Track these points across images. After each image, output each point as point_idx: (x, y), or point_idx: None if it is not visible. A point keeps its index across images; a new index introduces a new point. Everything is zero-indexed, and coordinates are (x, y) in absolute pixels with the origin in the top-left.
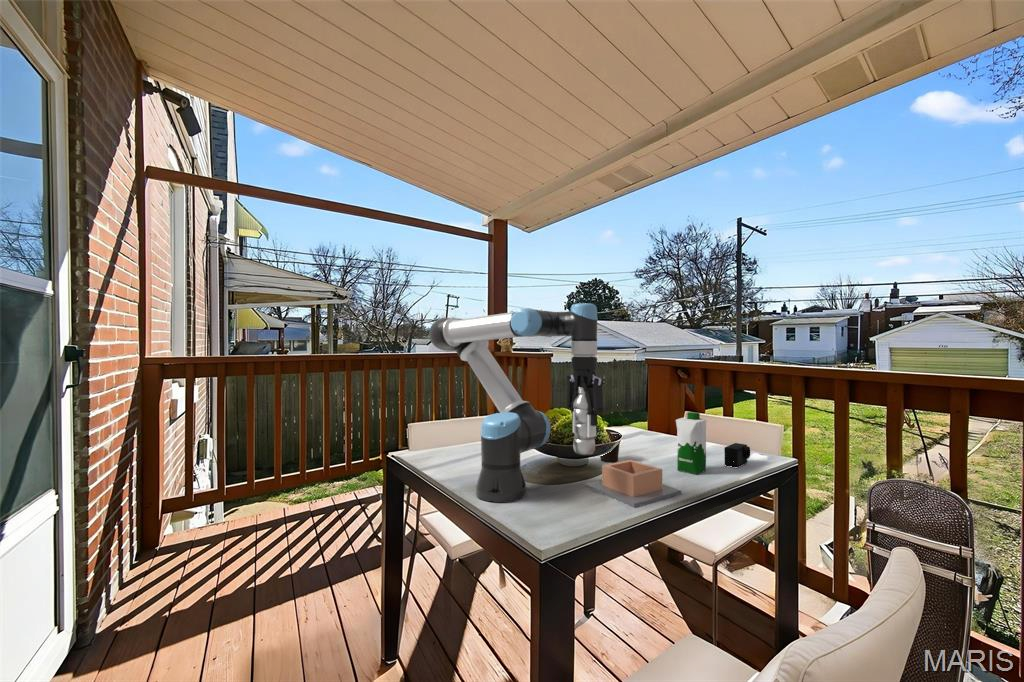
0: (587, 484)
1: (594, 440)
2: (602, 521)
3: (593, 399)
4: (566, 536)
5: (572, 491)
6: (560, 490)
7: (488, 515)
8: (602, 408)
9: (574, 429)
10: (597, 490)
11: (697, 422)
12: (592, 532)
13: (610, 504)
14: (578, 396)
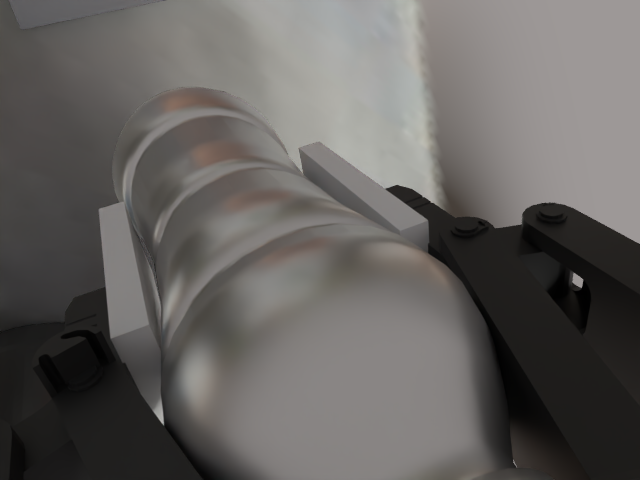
0: (36, 20)
1: (258, 120)
2: (399, 150)
3: (635, 399)
4: None
5: (83, 125)
6: (54, 176)
7: None
8: (594, 227)
9: (155, 288)
10: (129, 6)
11: None
12: None
13: (291, 39)
14: None
